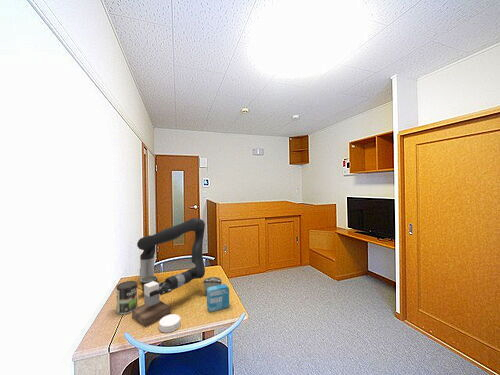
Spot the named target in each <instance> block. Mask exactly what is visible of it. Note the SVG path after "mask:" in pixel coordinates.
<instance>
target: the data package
mask: <svg viewBox="0 0 500 375" xmlns="http://www.w3.org/2000/svg"><path fill="white" fill-rule="evenodd" d="M206 307H207V309H208V311H209V312H210V313H212V312H216V311H220V310H224V309H227V308H229V307H230V288H229V286H228V285H227V284H226V283H221V285H217V286H212V287H209V288H207V296H206Z"/></svg>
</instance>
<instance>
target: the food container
mask: <svg viewBox="0 0 500 375" xmlns="http://www.w3.org/2000/svg"><path fill="white" fill-rule="evenodd" d="M222 280H223V279H222V278H220V277H218V276H217V277H216V276H210V277H206V278H205V279H203V281H202V284H203V288H204V296H205V297H207V288H209V287H212V286H217V285H222V284H223V281H222Z"/></svg>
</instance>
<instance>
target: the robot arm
mask: <svg viewBox="0 0 500 375" xmlns="http://www.w3.org/2000/svg"><path fill="white" fill-rule="evenodd" d="M205 226H206V223H205V221H204V220H203V219H201V218H198V217H192V218H190V219H188V220H185V221H184V222H182V223H180V224H176V225H173V226H170V227H167V228H164V229H163V230H160V231H159V232H157V233H154V234H152V235H145V236H142V237H141V238H139V239H138V241H137V243H136V244H137V248H138V249H139V250H141V251H142V253H141V254H140V257H139V258H140V259H139V262H140V267H139V283H141V279H142V278H144V277H147V276H155V254H156V245H160V244H165V243H168V242H171V241H174V240H177V239H178V238H180V237H181V236H182V235H184V234H186V233H190V232H194V234H195V236H194V242H193V246H192V249H191V264H194V265H195V267H192V268H189V269H187V270H185V271H183V272H180V273H176V274H174V275H170V276H168V277H166V278H165V279H164V281H161V282H160V281H159V280H157V283H159V289H157V290H155V291H153V292H150V297H152V296H154V295H159V296H162V295H165V294H169V293H171V292H172V291H174V290H176V289H179V288H181V287H183V286H185V285H186V284H188V283H191V282H192V280H197V279H202V278H203V277H204V276H205V272H206V268H205V264H204V261H203V243H204V234H205V228H206V227H205Z"/></svg>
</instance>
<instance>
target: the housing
mask: <svg viewBox="0 0 500 375" xmlns="http://www.w3.org/2000/svg"><path fill="white" fill-rule="evenodd" d="M159 283H160V282H159ZM159 283H157V282H155V281H152V282H150V283H147V284H144V295H143V300H144V301H143V304H146V305H148V306H152V305H154V304H156V303H158V302H159V300H160V294H159V295H154V296H152V297H150V292H153V291H155V290H157V289H159Z"/></svg>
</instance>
